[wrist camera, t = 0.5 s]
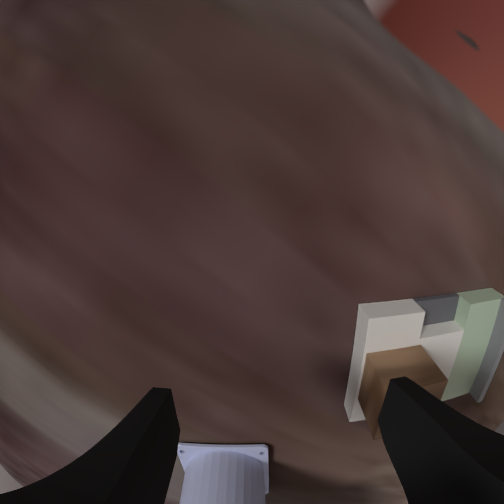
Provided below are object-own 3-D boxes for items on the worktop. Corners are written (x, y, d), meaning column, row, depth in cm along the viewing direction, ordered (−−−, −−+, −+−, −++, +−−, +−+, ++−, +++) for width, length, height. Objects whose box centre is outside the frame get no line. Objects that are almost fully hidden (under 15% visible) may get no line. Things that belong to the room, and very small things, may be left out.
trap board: (463, 378, 21) (482, 401, 18) (343, 404, 21) (354, 436, 18) (491, 287, 19) (517, 305, 15) (358, 303, 19) (377, 331, 15)
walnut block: (407, 389, 19) (429, 426, 15) (357, 398, 19) (373, 440, 15) (420, 344, 17) (448, 380, 14) (366, 353, 18) (388, 394, 14)
